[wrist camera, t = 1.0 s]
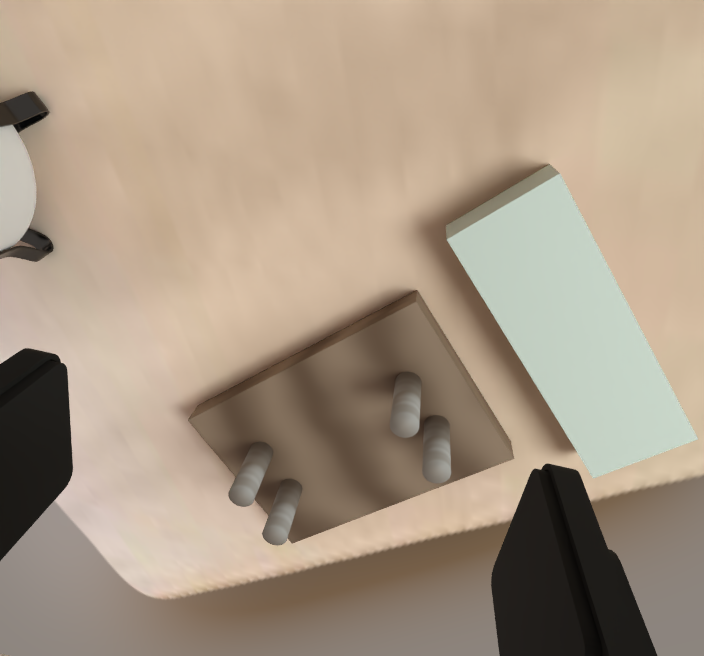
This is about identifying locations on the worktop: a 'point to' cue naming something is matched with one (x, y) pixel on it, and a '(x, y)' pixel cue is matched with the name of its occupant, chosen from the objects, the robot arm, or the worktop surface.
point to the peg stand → (353, 424)
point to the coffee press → (19, 180)
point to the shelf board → (569, 323)
